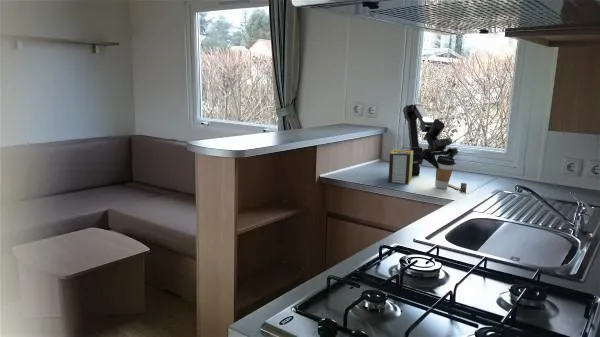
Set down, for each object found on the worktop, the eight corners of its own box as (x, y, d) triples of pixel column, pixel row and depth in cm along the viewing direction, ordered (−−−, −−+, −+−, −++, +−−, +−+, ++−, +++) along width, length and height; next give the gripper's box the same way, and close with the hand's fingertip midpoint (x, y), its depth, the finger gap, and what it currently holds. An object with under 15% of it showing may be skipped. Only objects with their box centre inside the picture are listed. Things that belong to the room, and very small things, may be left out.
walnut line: (467, 192, 220) (467, 183, 219) (462, 192, 219) (463, 184, 218) (444, 183, 238) (444, 175, 238) (439, 183, 238) (440, 175, 237)
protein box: (411, 178, 248) (413, 150, 245) (408, 184, 234) (410, 154, 231) (392, 176, 251) (393, 148, 249) (387, 182, 237) (389, 152, 234)
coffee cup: (430, 182, 232) (435, 154, 227) (447, 184, 232) (452, 155, 227) (434, 189, 224) (440, 159, 219) (452, 190, 224) (457, 160, 219)
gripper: (424, 132, 223) (436, 159, 215) (457, 131, 229) (470, 157, 221) (414, 146, 232) (425, 172, 224) (446, 145, 237) (458, 170, 229)
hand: (445, 167), depth 224 cm, fingers closed on coffee cup, 8 cm apart
